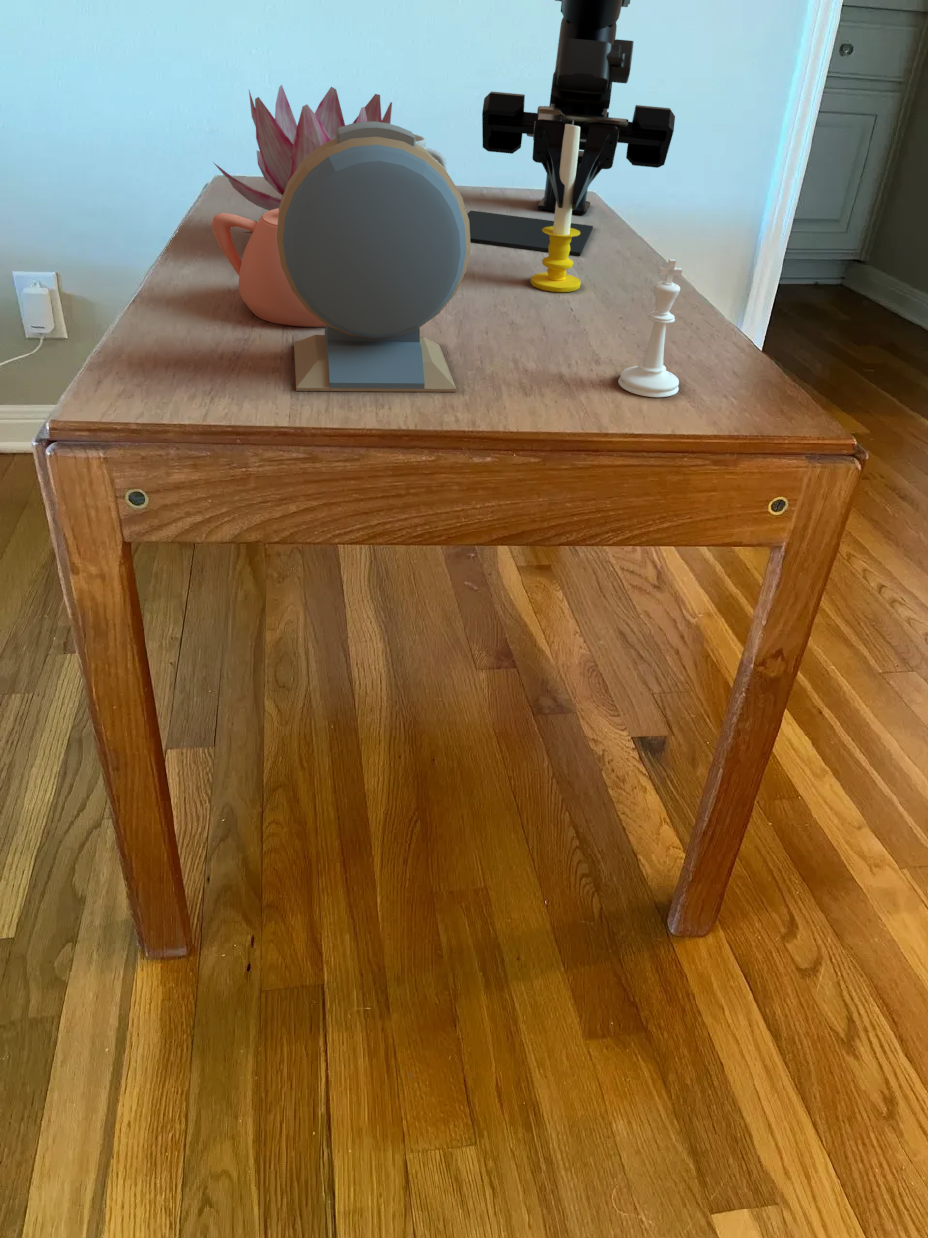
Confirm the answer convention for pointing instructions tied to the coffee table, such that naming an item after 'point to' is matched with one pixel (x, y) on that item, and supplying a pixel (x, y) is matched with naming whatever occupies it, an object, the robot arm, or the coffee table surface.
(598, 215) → the coffee table surface
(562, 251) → the candle
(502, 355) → the coffee table surface
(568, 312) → the coffee table surface
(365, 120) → the decorative flower
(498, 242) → the mat
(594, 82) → the robot arm
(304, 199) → the alarm clock
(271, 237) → the teapot
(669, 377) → the chess piece
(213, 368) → the coffee table surface
